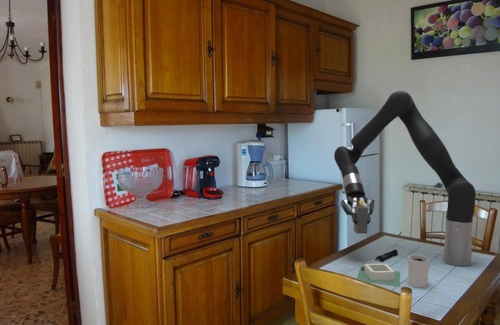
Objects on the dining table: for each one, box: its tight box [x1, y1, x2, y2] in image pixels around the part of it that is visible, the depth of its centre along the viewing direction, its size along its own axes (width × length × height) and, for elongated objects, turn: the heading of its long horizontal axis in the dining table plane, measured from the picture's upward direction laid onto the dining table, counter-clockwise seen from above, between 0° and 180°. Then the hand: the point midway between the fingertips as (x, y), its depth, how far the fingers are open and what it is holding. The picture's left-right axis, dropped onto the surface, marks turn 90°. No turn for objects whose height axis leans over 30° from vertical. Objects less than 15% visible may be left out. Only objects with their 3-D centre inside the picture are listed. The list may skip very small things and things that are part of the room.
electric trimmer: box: [374, 248, 399, 263], centre depth 158 cm, size 4×15×3 cm, turn 132°
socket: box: [364, 263, 395, 281], centre depth 138 cm, size 8×8×3 cm
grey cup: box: [407, 254, 431, 288], centre depth 131 cm, size 7×7×10 cm
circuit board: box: [356, 265, 401, 288], centre depth 138 cm, size 14×14×2 cm
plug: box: [353, 200, 369, 234], centre depth 151 cm, size 4×4×12 cm
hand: (362, 223), depth 149 cm, fingers closed on plug, 4 cm apart
